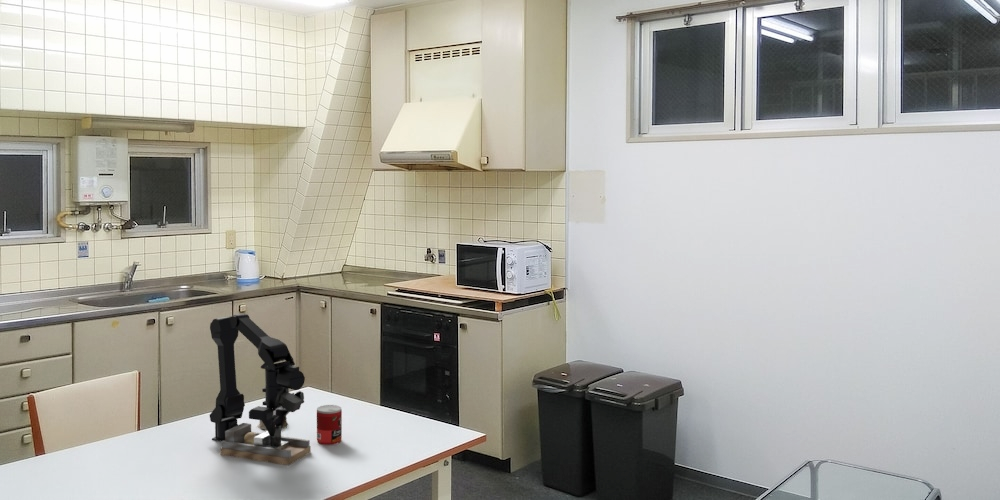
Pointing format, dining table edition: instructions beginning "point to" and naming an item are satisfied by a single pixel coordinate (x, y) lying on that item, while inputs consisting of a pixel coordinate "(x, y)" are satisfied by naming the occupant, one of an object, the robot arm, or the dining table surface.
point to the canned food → (329, 424)
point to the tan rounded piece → (249, 438)
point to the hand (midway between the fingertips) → (275, 434)
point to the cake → (265, 427)
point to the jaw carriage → (271, 439)
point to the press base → (262, 447)
